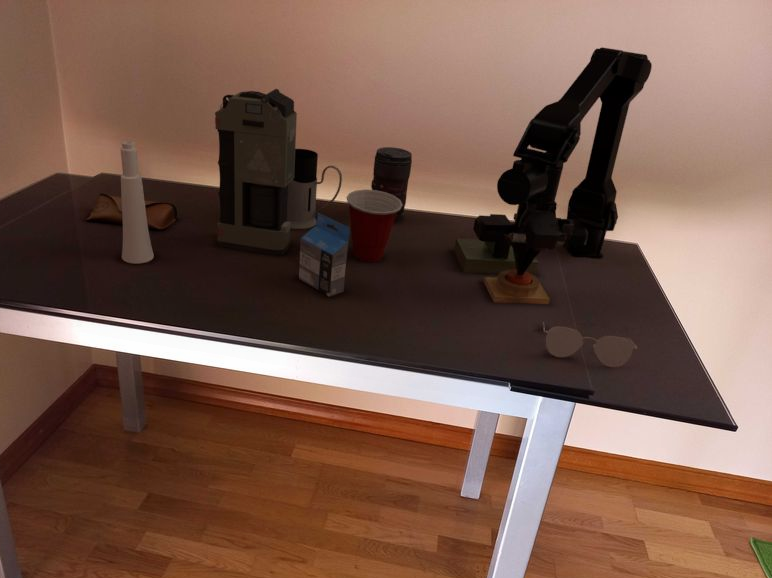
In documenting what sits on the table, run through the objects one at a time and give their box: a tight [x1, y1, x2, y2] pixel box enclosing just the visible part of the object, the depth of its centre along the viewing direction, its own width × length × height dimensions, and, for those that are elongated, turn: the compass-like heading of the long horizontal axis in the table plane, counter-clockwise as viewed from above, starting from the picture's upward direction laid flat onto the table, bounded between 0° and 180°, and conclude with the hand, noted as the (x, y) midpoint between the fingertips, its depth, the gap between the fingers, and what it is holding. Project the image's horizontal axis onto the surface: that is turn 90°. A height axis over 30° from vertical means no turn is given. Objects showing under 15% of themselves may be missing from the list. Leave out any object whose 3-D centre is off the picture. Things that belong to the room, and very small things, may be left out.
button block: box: [483, 270, 551, 305], centre depth 128 cm, size 10×8×3 cm
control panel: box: [453, 238, 539, 276], centre depth 138 cm, size 14×11×3 cm
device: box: [214, 88, 298, 256], centre depth 133 cm, size 14×8×30 cm, turn 74°
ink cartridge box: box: [298, 212, 351, 297], centre depth 124 cm, size 9×4×12 cm, turn 40°
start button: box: [506, 270, 532, 285], centre depth 127 cm, size 4×4×2 cm
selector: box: [485, 213, 512, 257], centre depth 136 cm, size 7×3×6 cm, turn 0°
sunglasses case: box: [85, 192, 178, 231], centre depth 149 cm, size 18×7×7 cm, turn 78°
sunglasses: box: [542, 321, 638, 368], centre depth 112 cm, size 14×8×5 cm, turn 73°
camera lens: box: [370, 146, 413, 223], centre depth 154 cm, size 8×8×15 cm
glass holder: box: [287, 148, 343, 230], centre depth 149 cm, size 9×14×15 cm, turn 64°
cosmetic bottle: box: [120, 140, 155, 265], centre depth 128 cm, size 6×6×22 cm
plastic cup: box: [346, 189, 403, 263], centre depth 136 cm, size 11×11×12 cm
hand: (519, 274), depth 126 cm, fingers closed, pressing on start button
